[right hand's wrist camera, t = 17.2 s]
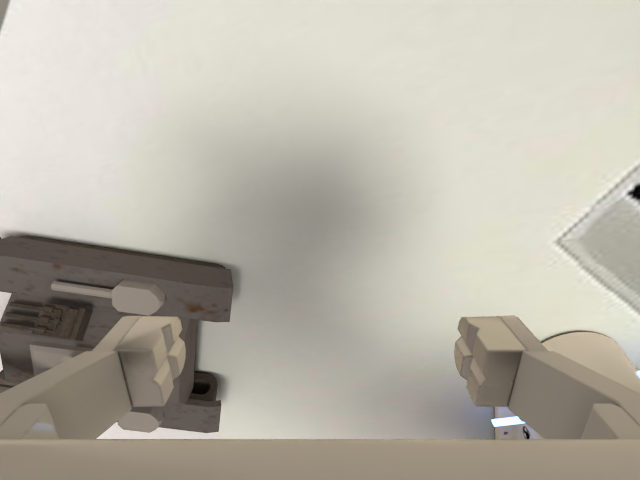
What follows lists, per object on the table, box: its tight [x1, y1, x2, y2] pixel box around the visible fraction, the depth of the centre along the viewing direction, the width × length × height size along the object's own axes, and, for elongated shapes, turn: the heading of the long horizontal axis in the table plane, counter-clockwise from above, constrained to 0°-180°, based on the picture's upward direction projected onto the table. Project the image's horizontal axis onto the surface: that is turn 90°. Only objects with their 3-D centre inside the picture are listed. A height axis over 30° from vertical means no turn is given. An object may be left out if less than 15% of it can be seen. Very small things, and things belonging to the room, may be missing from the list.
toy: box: [0, 236, 233, 433], centre depth 37 cm, size 25×20×15 cm
